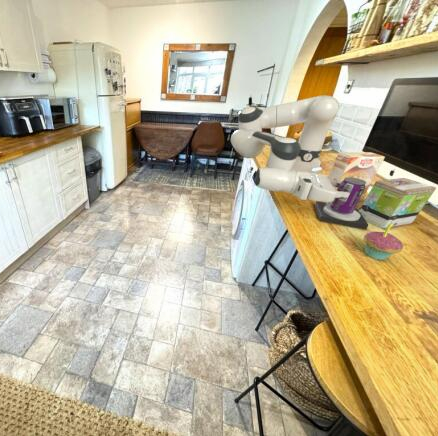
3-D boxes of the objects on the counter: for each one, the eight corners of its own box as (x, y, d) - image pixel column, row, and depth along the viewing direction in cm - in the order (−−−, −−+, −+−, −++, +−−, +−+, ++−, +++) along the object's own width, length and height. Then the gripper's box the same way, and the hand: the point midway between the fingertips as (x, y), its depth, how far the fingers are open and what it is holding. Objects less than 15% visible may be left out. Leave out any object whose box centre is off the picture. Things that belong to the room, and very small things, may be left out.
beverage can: (356, 216, 85) (372, 185, 79) (334, 214, 86) (348, 183, 80) (346, 207, 91) (360, 177, 85) (325, 205, 92) (338, 176, 86)
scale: (314, 205, 99) (316, 198, 98) (354, 212, 94) (358, 205, 93) (319, 220, 88) (322, 213, 87) (366, 229, 83) (370, 222, 82)
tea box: (384, 229, 84) (408, 191, 76) (355, 216, 92) (374, 180, 84) (412, 223, 87) (438, 186, 80) (382, 211, 96) (403, 176, 88)
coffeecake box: (331, 201, 102) (351, 156, 92) (319, 195, 108) (337, 152, 99) (363, 200, 104) (386, 156, 94) (349, 194, 110) (370, 151, 100)
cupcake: (383, 267, 66) (407, 231, 60) (350, 249, 73) (369, 215, 67) (400, 259, 69) (424, 224, 63) (367, 243, 76) (386, 210, 70)
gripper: (296, 182, 100) (335, 187, 95) (300, 201, 84) (348, 209, 79) (301, 167, 97) (341, 172, 92) (307, 184, 80) (357, 192, 76)
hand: (345, 189), depth 85 cm, fingers open, 8 cm apart
